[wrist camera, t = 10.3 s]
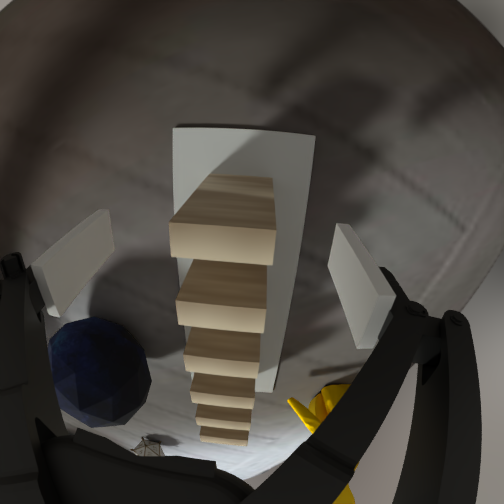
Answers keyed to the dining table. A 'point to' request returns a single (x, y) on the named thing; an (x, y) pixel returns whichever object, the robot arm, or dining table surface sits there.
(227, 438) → the tile
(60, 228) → the dining table surface
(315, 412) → the figure statuette
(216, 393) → the tile
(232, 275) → the tile
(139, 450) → the game die
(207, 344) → the tile
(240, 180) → the tile
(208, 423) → the tile
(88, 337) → the decorative orb
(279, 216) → the runner mat
